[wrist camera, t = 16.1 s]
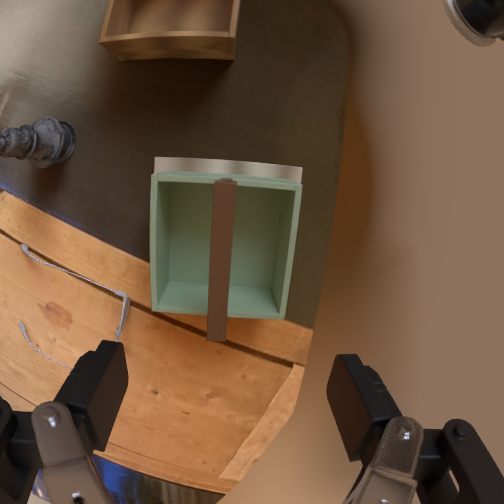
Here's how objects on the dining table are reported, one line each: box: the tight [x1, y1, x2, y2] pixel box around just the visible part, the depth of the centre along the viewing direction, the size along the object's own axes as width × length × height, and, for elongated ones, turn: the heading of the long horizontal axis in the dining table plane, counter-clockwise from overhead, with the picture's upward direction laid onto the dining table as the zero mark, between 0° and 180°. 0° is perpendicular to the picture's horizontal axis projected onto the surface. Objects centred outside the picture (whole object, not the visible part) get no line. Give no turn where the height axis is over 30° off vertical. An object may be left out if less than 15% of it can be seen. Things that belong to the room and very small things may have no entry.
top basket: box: [150, 171, 302, 342], centre depth 28 cm, size 13×13×11 cm
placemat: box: [154, 157, 302, 184], centre depth 34 cm, size 16×16×1 cm
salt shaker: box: [0, 117, 76, 168], centre depth 24 cm, size 6×6×12 cm
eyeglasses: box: [19, 244, 131, 370], centre depth 34 cm, size 15×18×4 cm
